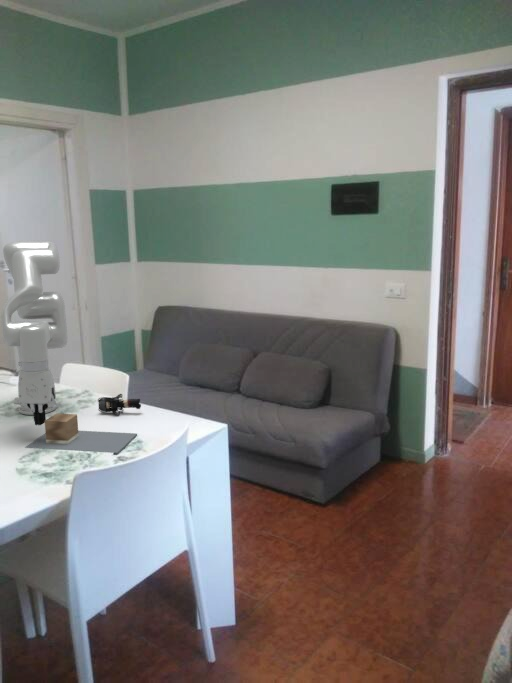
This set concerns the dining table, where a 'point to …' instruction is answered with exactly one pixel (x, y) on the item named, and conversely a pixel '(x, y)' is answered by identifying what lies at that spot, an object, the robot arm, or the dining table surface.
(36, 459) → the dining table surface
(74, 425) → the walnut cube
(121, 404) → the toy
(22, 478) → the dining table surface
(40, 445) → the slate mat
